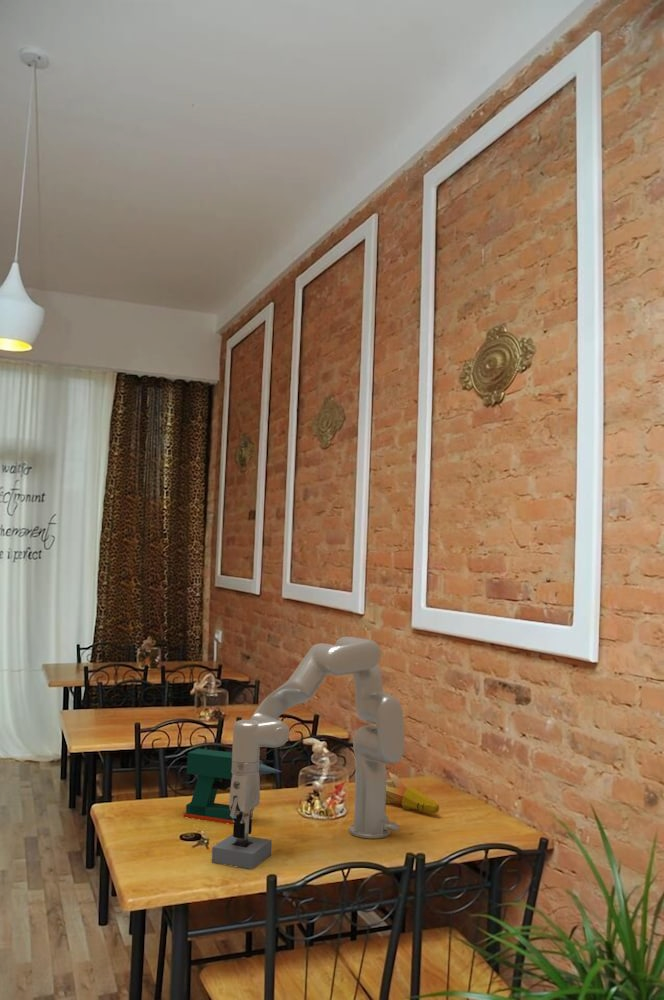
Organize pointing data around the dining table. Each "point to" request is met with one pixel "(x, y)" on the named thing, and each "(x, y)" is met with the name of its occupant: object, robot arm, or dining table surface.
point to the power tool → (212, 784)
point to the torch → (408, 797)
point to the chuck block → (241, 852)
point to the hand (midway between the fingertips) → (242, 834)
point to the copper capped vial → (244, 841)
